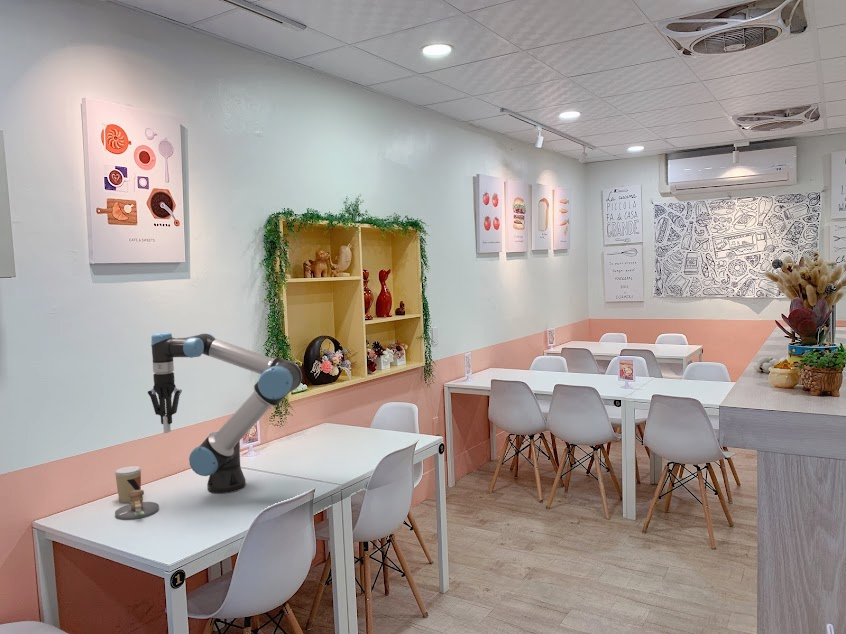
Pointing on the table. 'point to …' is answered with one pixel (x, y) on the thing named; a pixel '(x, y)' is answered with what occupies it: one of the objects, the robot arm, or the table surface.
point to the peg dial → (136, 499)
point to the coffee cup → (127, 482)
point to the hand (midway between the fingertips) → (167, 432)
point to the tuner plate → (129, 514)
